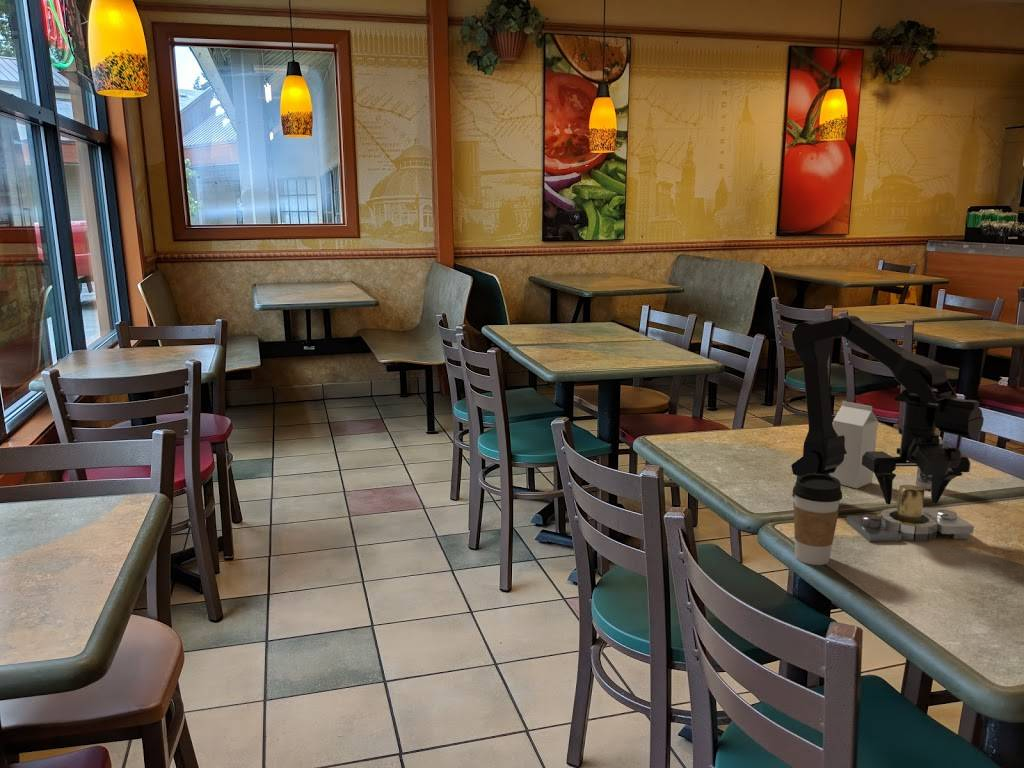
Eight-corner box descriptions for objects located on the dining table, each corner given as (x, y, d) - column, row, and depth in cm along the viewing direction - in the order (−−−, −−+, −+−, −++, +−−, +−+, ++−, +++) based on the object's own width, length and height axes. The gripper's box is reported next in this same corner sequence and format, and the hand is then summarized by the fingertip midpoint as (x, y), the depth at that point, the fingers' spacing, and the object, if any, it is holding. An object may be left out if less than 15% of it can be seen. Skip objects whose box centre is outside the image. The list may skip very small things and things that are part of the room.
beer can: (914, 488, 183) (919, 438, 180) (914, 482, 187) (920, 433, 184) (937, 491, 181) (943, 440, 178) (938, 485, 185) (943, 435, 182)
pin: (902, 536, 156) (906, 492, 154) (890, 527, 160) (895, 484, 158) (924, 535, 156) (929, 492, 154) (912, 527, 160) (917, 484, 158)
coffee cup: (843, 557, 146) (850, 479, 143) (826, 572, 140) (833, 491, 136) (798, 545, 151) (804, 469, 148) (780, 559, 145) (785, 480, 142)
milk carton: (857, 489, 182) (864, 408, 178) (828, 481, 188) (834, 403, 184) (872, 483, 187) (879, 404, 183) (843, 475, 192) (850, 398, 188)
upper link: (895, 541, 153) (897, 523, 152) (870, 522, 163) (872, 504, 162) (972, 540, 153) (974, 522, 152) (943, 521, 163) (945, 503, 162)
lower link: (869, 542, 153) (871, 527, 152) (846, 522, 162) (847, 508, 162) (946, 541, 153) (948, 526, 152) (919, 521, 163) (920, 507, 162)
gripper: (892, 438, 145) (884, 519, 148) (992, 437, 146) (982, 518, 149) (864, 423, 156) (857, 498, 159) (957, 422, 157) (948, 497, 160)
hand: (911, 503), depth 157 cm, fingers open, 9 cm apart
